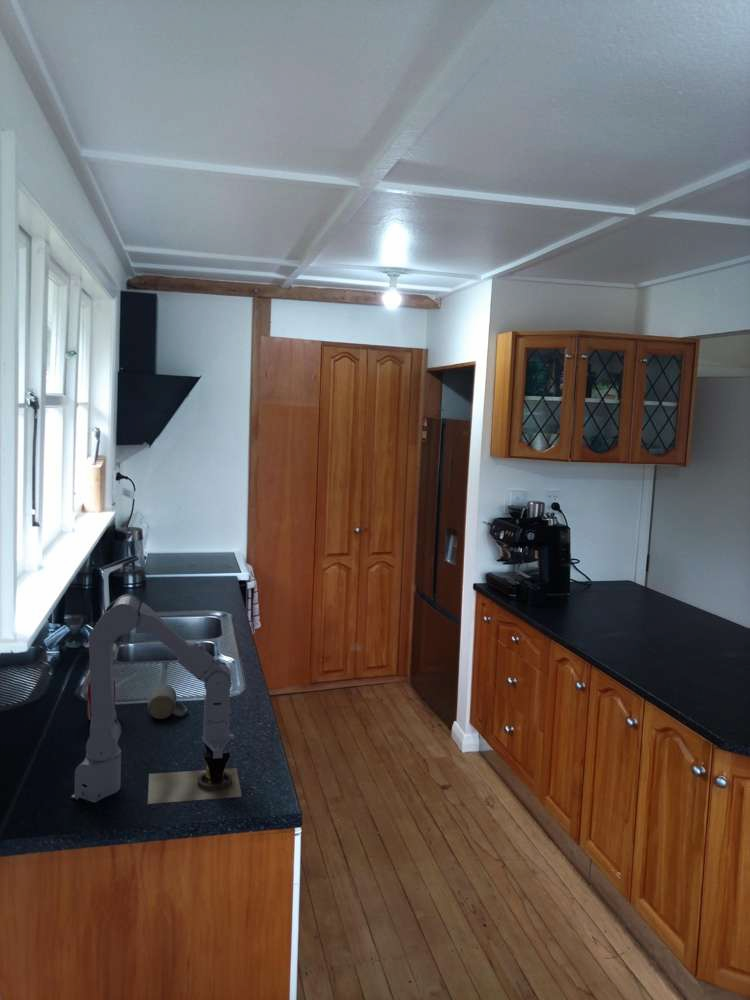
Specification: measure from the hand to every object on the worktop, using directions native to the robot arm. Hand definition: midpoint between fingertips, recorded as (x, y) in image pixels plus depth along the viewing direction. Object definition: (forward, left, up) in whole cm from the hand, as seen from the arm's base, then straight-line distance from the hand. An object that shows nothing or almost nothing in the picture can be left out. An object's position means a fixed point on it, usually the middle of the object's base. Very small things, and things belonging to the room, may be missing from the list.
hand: (214, 775), depth 176 cm
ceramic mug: (+28, +37, -3) cm, 46 cm away
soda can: (+16, +50, -3) cm, 52 cm away
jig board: (-3, +4, -3) cm, 5 cm away
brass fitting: (0, 0, -2) cm, 2 cm away
